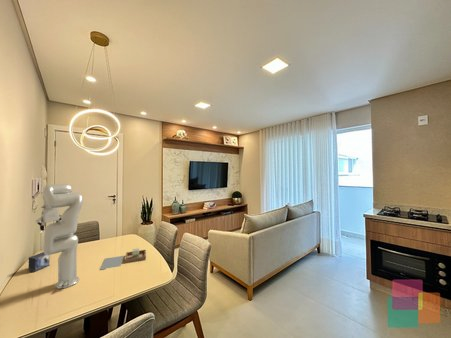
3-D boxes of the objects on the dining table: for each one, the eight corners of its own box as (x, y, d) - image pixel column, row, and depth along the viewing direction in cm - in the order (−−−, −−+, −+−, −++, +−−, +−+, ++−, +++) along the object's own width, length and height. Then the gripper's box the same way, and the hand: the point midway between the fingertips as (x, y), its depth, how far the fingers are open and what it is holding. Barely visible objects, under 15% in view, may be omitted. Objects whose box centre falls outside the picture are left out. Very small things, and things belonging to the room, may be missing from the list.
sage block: (138, 258, 165) (138, 249, 165) (132, 259, 164) (132, 250, 164) (139, 255, 170) (139, 247, 170) (132, 256, 168) (132, 248, 168)
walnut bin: (145, 260, 162) (145, 256, 162) (124, 263, 156) (124, 260, 156) (146, 252, 177) (145, 249, 177) (126, 255, 171) (126, 252, 171)
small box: (34, 272, 144) (34, 258, 144) (27, 271, 146) (27, 257, 146) (50, 265, 155) (50, 252, 155) (43, 264, 156) (43, 251, 156)
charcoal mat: (120, 266, 152) (120, 266, 152) (99, 270, 147) (99, 269, 147) (123, 256, 170) (123, 255, 171) (105, 259, 165) (105, 258, 165)
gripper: (38, 209, 144) (38, 232, 144) (65, 205, 160) (65, 226, 160) (33, 208, 147) (33, 231, 146) (59, 204, 163) (59, 225, 162)
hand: (50, 228), depth 153 cm, fingers open, 9 cm apart
